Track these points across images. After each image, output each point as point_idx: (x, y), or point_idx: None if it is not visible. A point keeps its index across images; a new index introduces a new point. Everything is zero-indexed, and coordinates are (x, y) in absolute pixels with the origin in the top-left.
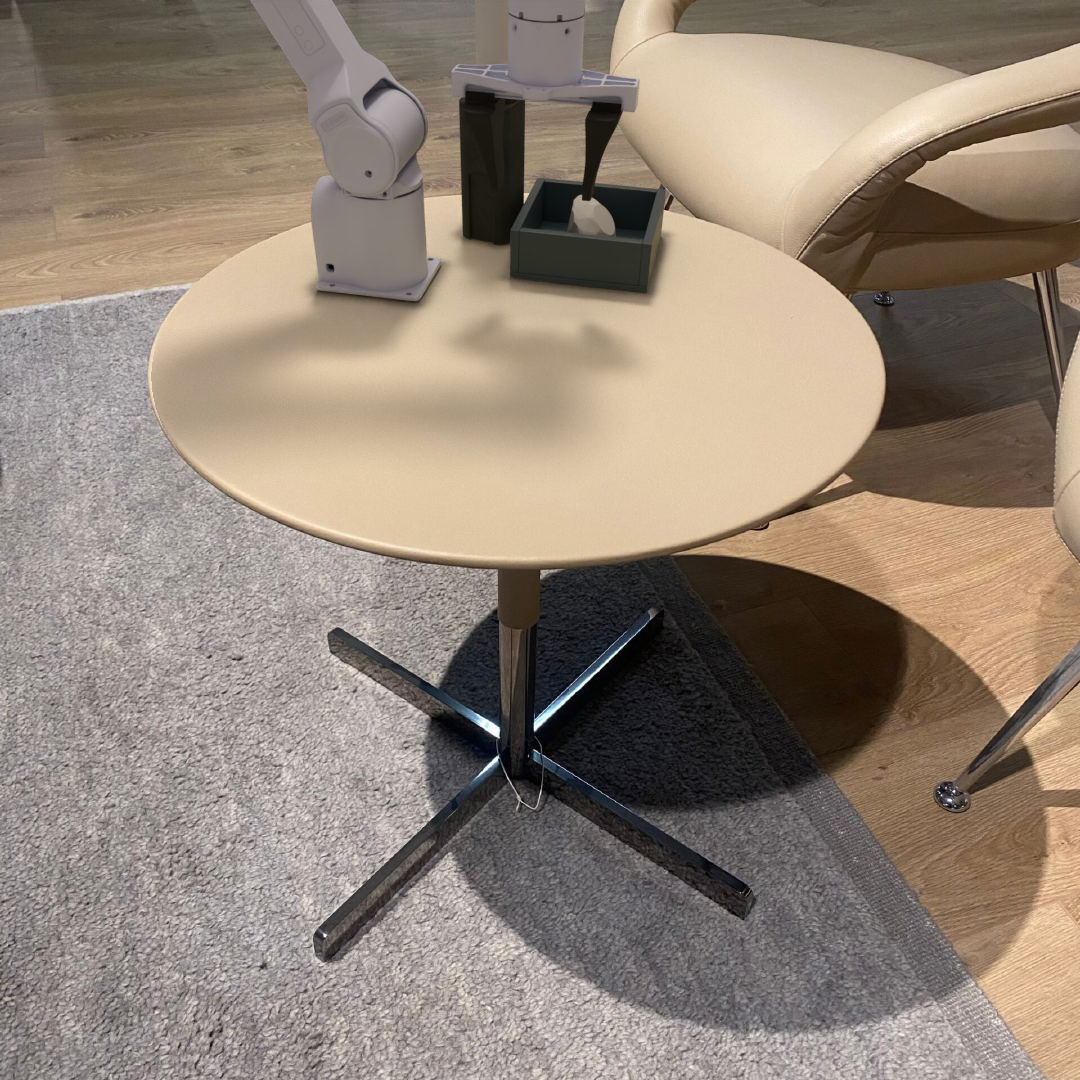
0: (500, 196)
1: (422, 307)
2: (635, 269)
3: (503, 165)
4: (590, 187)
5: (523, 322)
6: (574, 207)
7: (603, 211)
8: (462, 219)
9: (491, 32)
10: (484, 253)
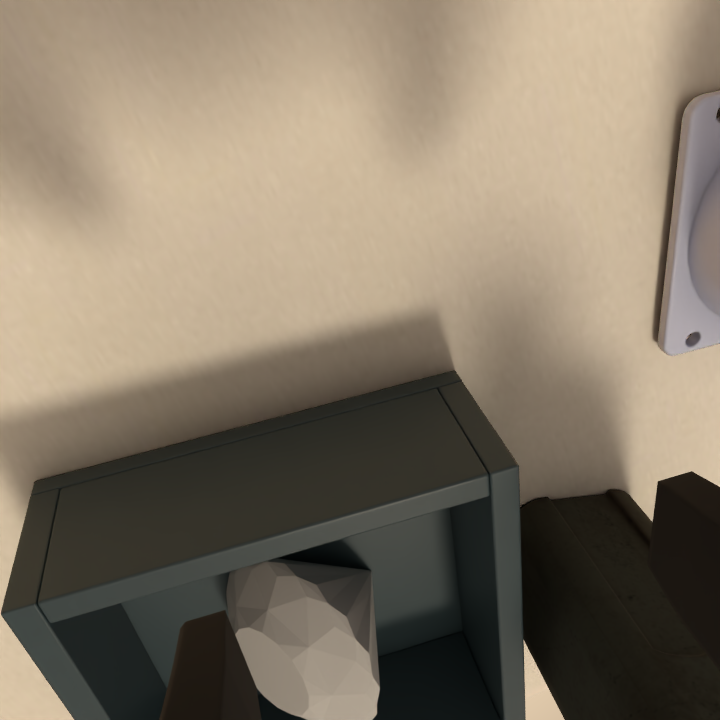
0: (599, 610)
1: (663, 81)
2: (68, 522)
3: (702, 638)
4: (171, 691)
5: (318, 131)
6: (364, 662)
7: (285, 697)
8: None
9: None
10: (558, 450)
